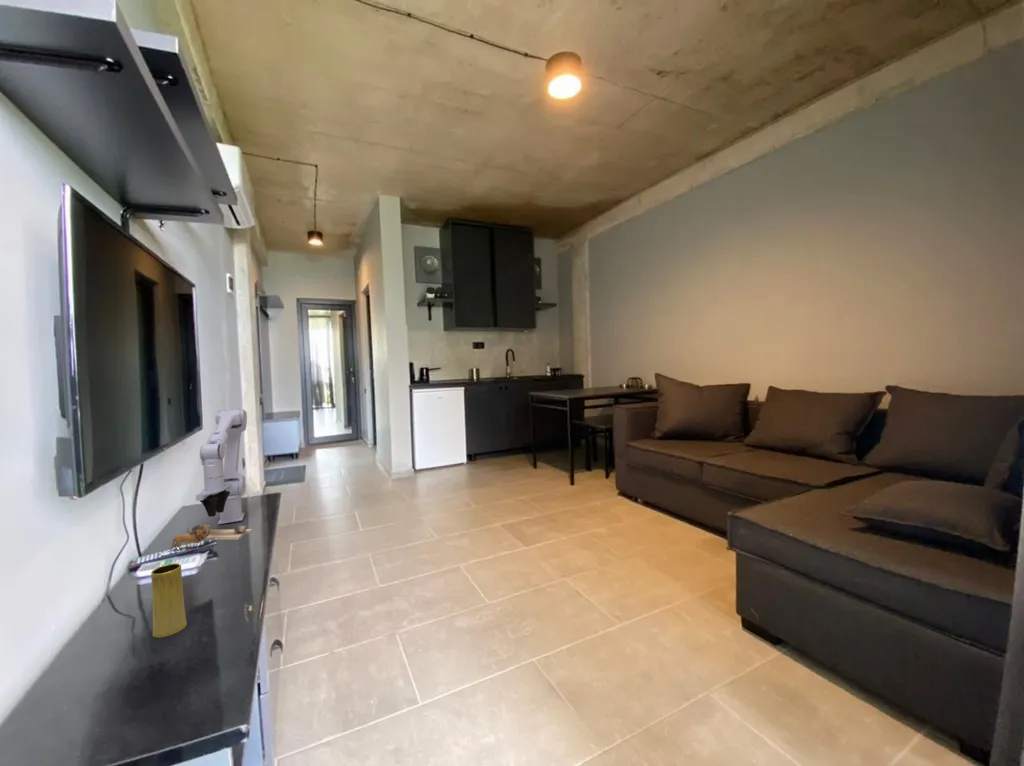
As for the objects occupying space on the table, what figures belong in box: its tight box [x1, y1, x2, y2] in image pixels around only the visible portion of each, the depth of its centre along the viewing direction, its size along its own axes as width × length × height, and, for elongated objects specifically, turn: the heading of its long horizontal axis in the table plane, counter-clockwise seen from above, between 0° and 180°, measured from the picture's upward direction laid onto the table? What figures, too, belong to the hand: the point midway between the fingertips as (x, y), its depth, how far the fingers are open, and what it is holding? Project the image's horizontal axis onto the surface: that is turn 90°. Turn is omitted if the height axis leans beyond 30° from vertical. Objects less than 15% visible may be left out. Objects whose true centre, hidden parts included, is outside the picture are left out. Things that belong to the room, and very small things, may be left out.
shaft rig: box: [186, 523, 253, 540], centre depth 150 cm, size 7×21×4 cm, turn 88°
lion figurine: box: [170, 524, 212, 549], centre depth 139 cm, size 12×4×7 cm, turn 121°
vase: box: [150, 562, 188, 638], centre depth 95 cm, size 6×6×14 cm
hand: (216, 514), depth 150 cm, fingers open, 3 cm apart
